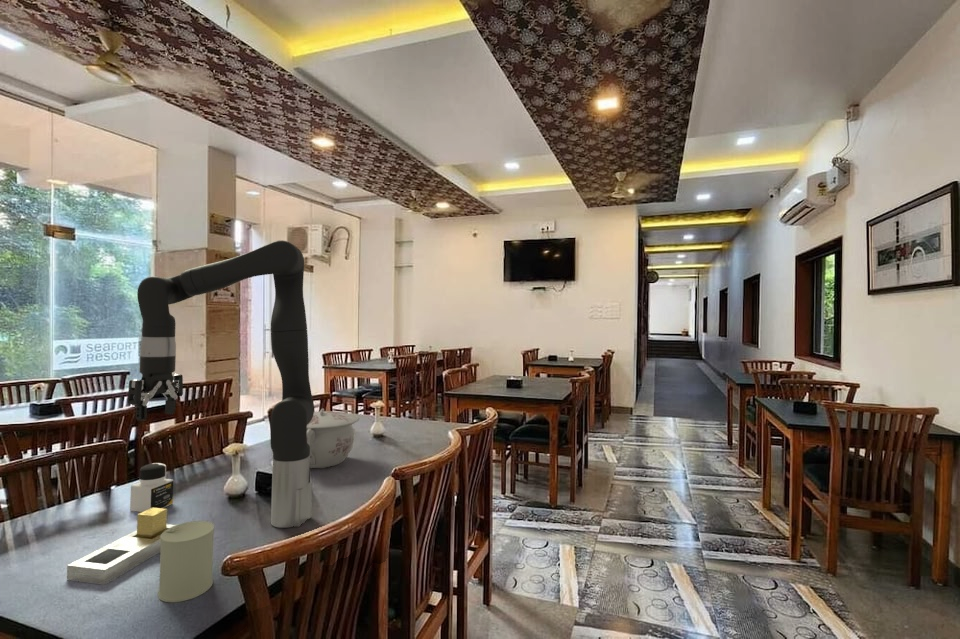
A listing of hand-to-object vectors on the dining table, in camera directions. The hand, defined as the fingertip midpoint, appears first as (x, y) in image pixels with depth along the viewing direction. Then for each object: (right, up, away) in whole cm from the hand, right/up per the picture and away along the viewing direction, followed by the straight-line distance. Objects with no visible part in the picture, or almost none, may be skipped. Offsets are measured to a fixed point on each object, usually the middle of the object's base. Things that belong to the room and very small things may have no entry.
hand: (156, 417), depth 116 cm
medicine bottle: (-9, -28, +11) cm, 32 cm away
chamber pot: (+23, -29, +54) cm, 66 cm away
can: (+25, -29, -26) cm, 46 cm away
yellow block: (+6, -28, -10) cm, 30 cm away
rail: (+5, -28, -15) cm, 32 cm away
